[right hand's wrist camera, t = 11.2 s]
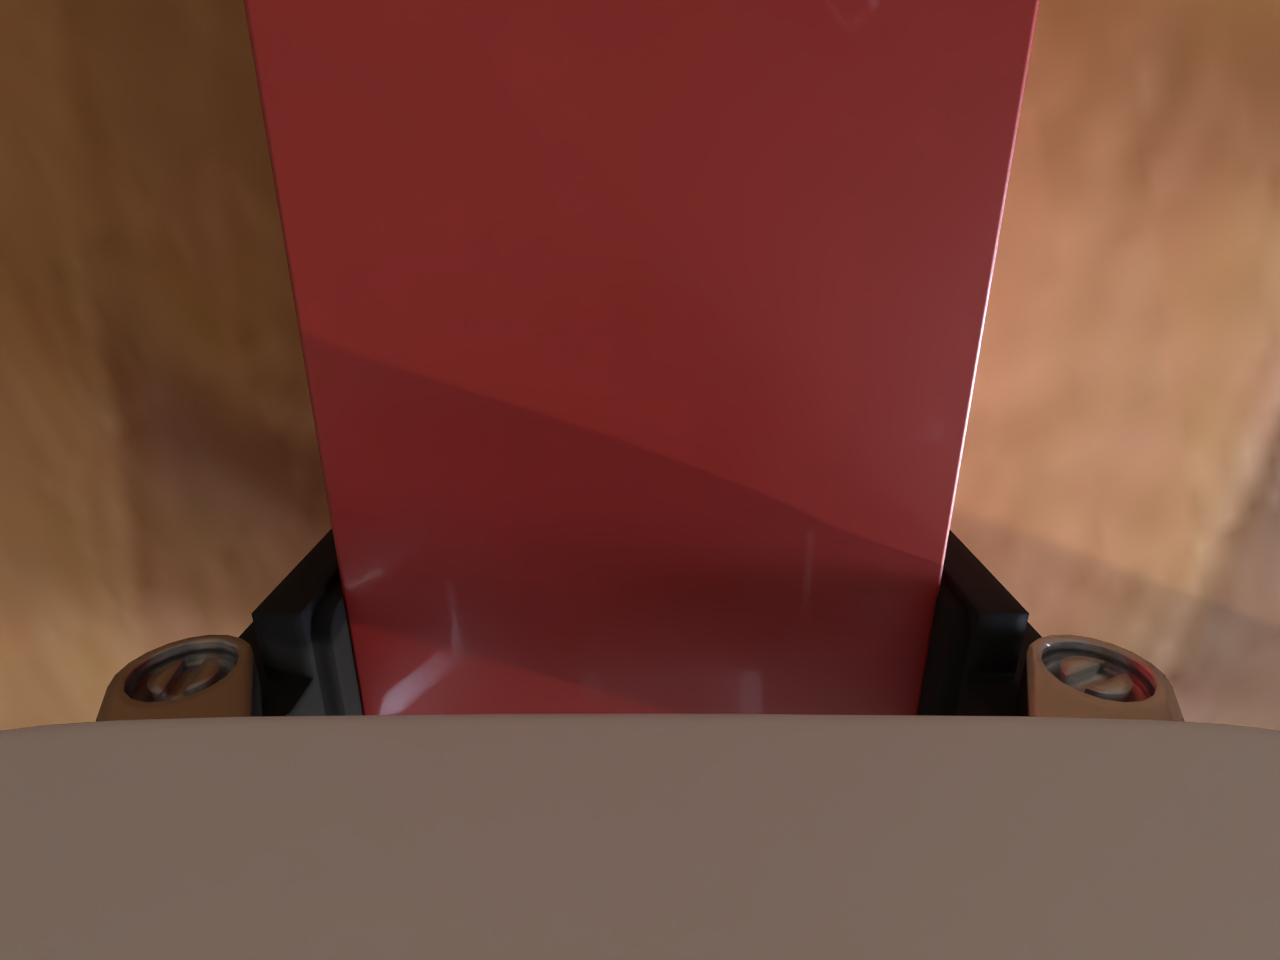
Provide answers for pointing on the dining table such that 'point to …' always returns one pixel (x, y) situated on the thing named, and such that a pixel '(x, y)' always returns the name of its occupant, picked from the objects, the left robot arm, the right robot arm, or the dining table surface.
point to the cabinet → (641, 335)
